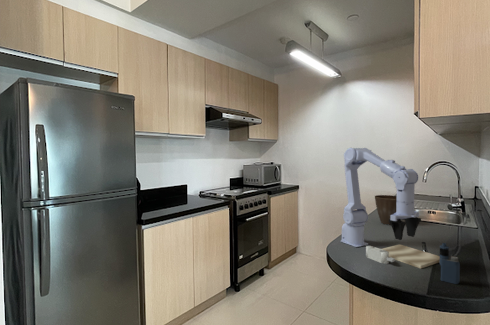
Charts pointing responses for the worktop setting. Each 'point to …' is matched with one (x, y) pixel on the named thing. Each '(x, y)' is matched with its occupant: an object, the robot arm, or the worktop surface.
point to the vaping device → (449, 266)
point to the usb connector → (378, 255)
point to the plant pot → (385, 207)
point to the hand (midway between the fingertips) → (404, 237)
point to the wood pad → (412, 256)
